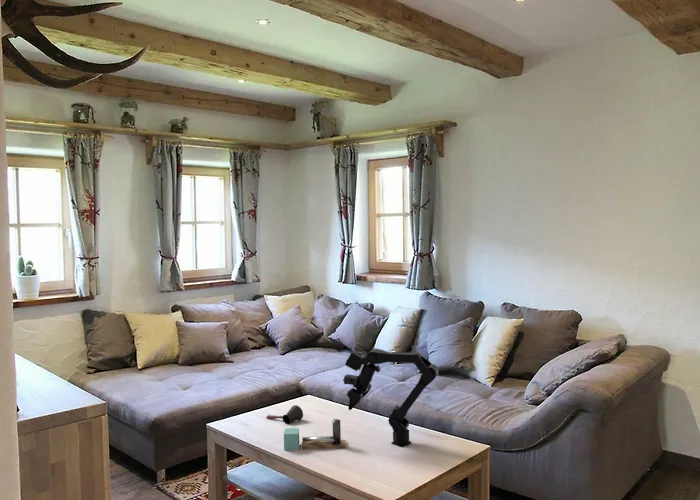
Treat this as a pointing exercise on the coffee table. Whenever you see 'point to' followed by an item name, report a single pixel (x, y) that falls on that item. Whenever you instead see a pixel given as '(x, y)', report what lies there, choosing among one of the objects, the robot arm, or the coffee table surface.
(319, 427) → the coffee table surface
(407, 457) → the coffee table surface
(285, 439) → the socket block
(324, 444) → the guide
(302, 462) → the coffee table surface
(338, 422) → the slip rod
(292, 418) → the black handbell
